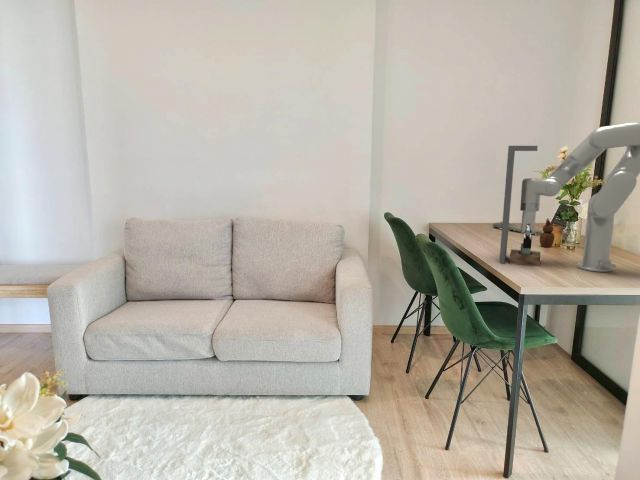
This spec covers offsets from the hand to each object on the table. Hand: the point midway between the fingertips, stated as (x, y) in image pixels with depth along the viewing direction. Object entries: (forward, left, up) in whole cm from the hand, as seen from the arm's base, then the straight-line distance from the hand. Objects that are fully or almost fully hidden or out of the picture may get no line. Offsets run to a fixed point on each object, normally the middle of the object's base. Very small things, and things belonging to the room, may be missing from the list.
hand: (527, 246), depth 209 cm
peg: (0, 0, -7) cm, 7 cm away
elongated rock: (+75, -53, -8) cm, 92 cm away
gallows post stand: (+3, +4, -7) cm, 9 cm away
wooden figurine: (+27, -35, -7) cm, 45 cm away
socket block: (0, 0, -7) cm, 7 cm away
